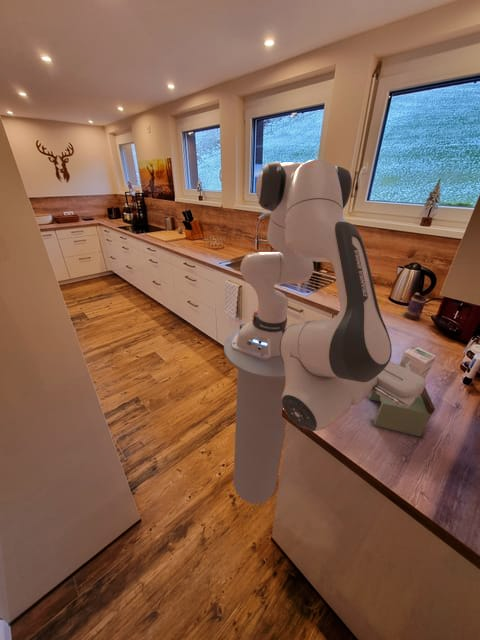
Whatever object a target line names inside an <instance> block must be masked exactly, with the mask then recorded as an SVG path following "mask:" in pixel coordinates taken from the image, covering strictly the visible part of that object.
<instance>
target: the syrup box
mask: <svg viewBox="0 0 480 640" xmlns="http://www.w3.org/2000/svg"><path fill="white" fill-rule="evenodd" d="M401 356H402V357H401V359H400V362H399V363H398V365H399V366H400V365H401V362H402V361H403V360H404V359H405V360H407V361H409V362H412V364H411V366H410V369H411V372H413V373H415V374H417V375H419V376H421V377H422V378H424V380H425V381H426V378H427V376H428V374H429V373H430V370H431V368H432V367H433V365H434V362H435V360H436V358H437V355H435V354H433V353H431V352H429V351H427V350H424V349H422V348H420V347H418V346H416V345H413V346H411V347H409V348H407V349H406V350H405V351H404V352H403V354H402V355H401Z"/></svg>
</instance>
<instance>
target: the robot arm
mask: <svg viewBox="0 0 480 640" xmlns="http://www.w3.org/2000/svg"><path fill="white" fill-rule="evenodd" d="M352 187H353V177H352V175H351V172H350V171H349V170H348V169H346V168H344V167H341V166H339V165H333V164H332V163H331V162H330V161H327V160H324V159H321V158H315V159H310V160H307V161H305V162H299V161H298V162H297V161H296V162H295V161H292V162H281V161H280V160H279V161H272V162H271V161H270V162H268V163H265V165H264V166H262V168H261V171H260V173H259V175H258V177H257V180H256V183H255V193H256V197H257V201H258V204H259V206H260V208H262V209H264V210H266V211H269V212H270V215H269V221H268V227H267V233H266V239H267V243H268V244H269V246H270V247H271V248H273V249H274V250H275V251H276V252H275V251H271V252H270V251H258V252H253V253H248V254H245V256H244V257H243V258H242V260H241V262H240V267H239V268H240V274H241V277H242V279H243V280H244V281H245V283H248V285H250V286H251V287H252V288H253V290H254V291H255V293H256V296H257V309H255V310H254V311H253V315H252V319H251V321H249V322H247V323H239V329H240V331H239V333H238V334H236V335H235V337H234V338H233V340H232V349H234V350H236V351H239V352H242V353H245V354H248V355H251V356H254V357H257V358H260V359H263V360H267V359H269V358H271V357H276V356H280V355H281V358H282V361H283V364H284V366H285V378H286V382H285V389H284V392H283V394H282V405H283V408H284V410H285V412H286V414H287V415H288V419H290V420H291V421H292V422H293V423H294V424H296V426H298V427H300V428H302V429H303V430H304V429H305V430H307V431H311V432H317V431H321V430H324V429H326V428H327V427H330V426H331V425H333V424H334V423H336V422H337V421H339V420H340V419H341V418H342V417H344V416H345V415H346V414H347V413H348V412H349V411H350V409H351V407H352V406H356V405H358V404H360V403H361V402H362V401H363V400H364V399H366V398H367V397H369V395H370V393H372V392H375V393H376V394H378V395H379V396H381V397H383V398H386V399H387V400H389V402H391V403H392V404H394V405H400V406H404V407H410V406H411V405H412V404H413V403H414V401H415V399H416V398H418V397H419V396H420V395H421V393H422V392H423V390H424V388H426V386H427V382H426V379H425V380H424V378H422V377H421V376H419V375H417V374H415V373H413V372H411V369H410V366H411V364H412V362H409V361H407V360H405V359H404V360H403V361H402V362H401V365H400V366H399V364H397V363H396V362H393V361H392V360H391V359H392V355H393V354H392V353H393V349H392V342H391V339H390V334H389V332H388V329H387V326H386V323H385V321H384V319H383V316H382V314H381V311H380V307H379V306H380V305H379V303H378V298H377V293H376V289H375V286H374V285H375V284H374V280H373V276H372V272H371V268H370V263H369V258H368V255H367V251H366V247H365V244H364V240H363V238H362V236H361V234H360V232H359V230H358V229H357V227H355V225H353V223H350V222H348V221H345V218H344V208H345V207H346V206H347V204H348V202H349V200H350V197H351V193H352ZM314 262H315V263H330V264H331V265H332V267H333V271H334V277H335V283H336V290H337V294H338V301H339V307H340V308H339V311H338V313H337V314H336V316H335V317H330V318H328V317H327V318H322V319H318V320H317V319H316V320H308V321H304V322H297V323H293V324H290V325H289V326H288V317H287V315H288V307H289V299H288V297H287V296H286V295H285V293H283V292H281V290H277V289H276V288H275V286H276V285H296V284H301V283H306V282H308V281H309V280H310V279H311V277H313V274H314V269H315V266H314ZM287 326H288V327H287ZM286 328H287V329H286Z"/></svg>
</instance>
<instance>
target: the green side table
mask: <svg viewBox="0 0 480 640" xmlns="http://www.w3.org/2000/svg"><path fill="white" fill-rule="evenodd" d="M368 399H369V401H370V400H371V401H376V402H378V403H381V404H380V406H379V409H378V411H377V414H376V415H375V418H374V421H373V426H376V427H379V428H382V429H386V430H391V431H395V432H400V433H403V434H407V435H412V436H416V437H421V436H422V434H423V432H424V430H425V428H426V426H427V425H428V423H429V421H430V419H431V417H432V416H433V414H434V412H435V411H436V407H435V406H434V403H433V401H432V399H431V396H430V395H429V392H428V390H427V388H426V387H425V388H424V390H423V392H422V393H421V395H420V396H419V397H418V398H416V399H415V401H414V403H413V404H412V405H411V406H410V407H404V406H400V405H394V404H392V403H391V402H389V400H387V399H386V398H383V397H381V396H379V395H378V394H376V393H375V392H372V393H370V394H369V395H368Z"/></svg>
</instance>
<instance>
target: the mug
mask: <svg viewBox="0 0 480 640" xmlns="http://www.w3.org/2000/svg"><path fill="white" fill-rule="evenodd" d="M426 302H427V297H426V296H425V295H422V294H420V292H415V293H414V294H413V296H412V297H411V299H410V301H409V303H408V306H407V308H406V310H405V312H404V316H405V318H407V319H408V320H414V321H418V320H420V318H421V316H422V314H423V310H424V307H425V304H426Z"/></svg>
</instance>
